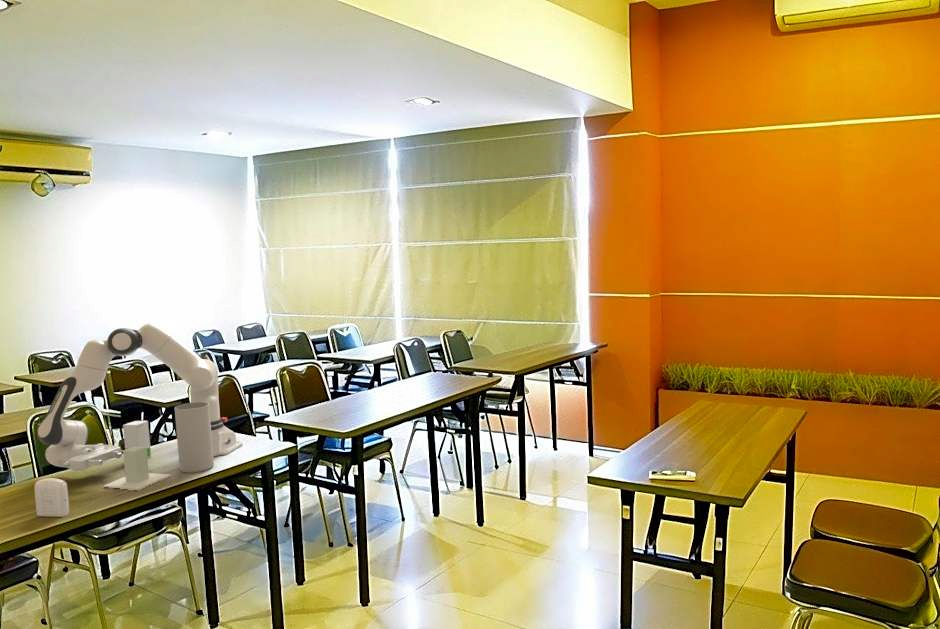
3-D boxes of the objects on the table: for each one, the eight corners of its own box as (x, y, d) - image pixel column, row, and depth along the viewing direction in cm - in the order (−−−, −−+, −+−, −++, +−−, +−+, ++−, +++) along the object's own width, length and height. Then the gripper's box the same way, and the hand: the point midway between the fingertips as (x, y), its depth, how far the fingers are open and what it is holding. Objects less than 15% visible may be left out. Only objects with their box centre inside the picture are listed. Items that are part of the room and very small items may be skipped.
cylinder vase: (174, 474, 278) (169, 410, 275) (187, 464, 290) (182, 402, 288) (207, 472, 278) (201, 408, 275) (218, 463, 290) (213, 401, 288)
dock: (137, 473, 280) (135, 455, 279) (170, 476, 275) (168, 457, 274) (103, 487, 265) (101, 468, 264) (138, 490, 260) (136, 471, 259)
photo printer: (72, 512, 240) (68, 476, 239) (63, 517, 236) (59, 480, 235) (44, 512, 242) (40, 476, 241) (34, 517, 238) (30, 480, 236)
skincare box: (139, 462, 295) (135, 425, 294) (124, 462, 297) (121, 425, 295) (152, 456, 304) (148, 420, 302) (138, 456, 305) (134, 420, 303)
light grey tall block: (137, 477, 273) (134, 446, 272) (149, 478, 272) (146, 447, 270) (125, 481, 268) (122, 450, 267) (137, 482, 266) (134, 451, 265)
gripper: (58, 456, 268) (87, 459, 263) (103, 441, 287) (131, 443, 282) (60, 473, 268) (88, 475, 264) (105, 457, 288) (132, 459, 283)
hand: (111, 459), depth 273 cm, fingers open, 8 cm apart
